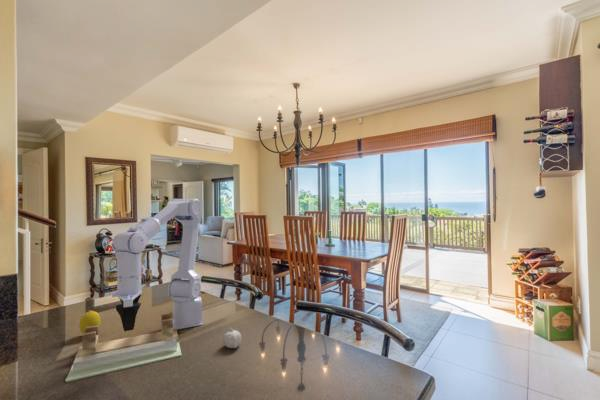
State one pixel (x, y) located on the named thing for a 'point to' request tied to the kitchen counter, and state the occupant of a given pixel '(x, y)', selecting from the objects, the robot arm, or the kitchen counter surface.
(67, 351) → the kitchen counter surface
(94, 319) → the lemon
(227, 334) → the garlic
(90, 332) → the rack
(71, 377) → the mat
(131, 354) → the rail
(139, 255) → the robot arm
